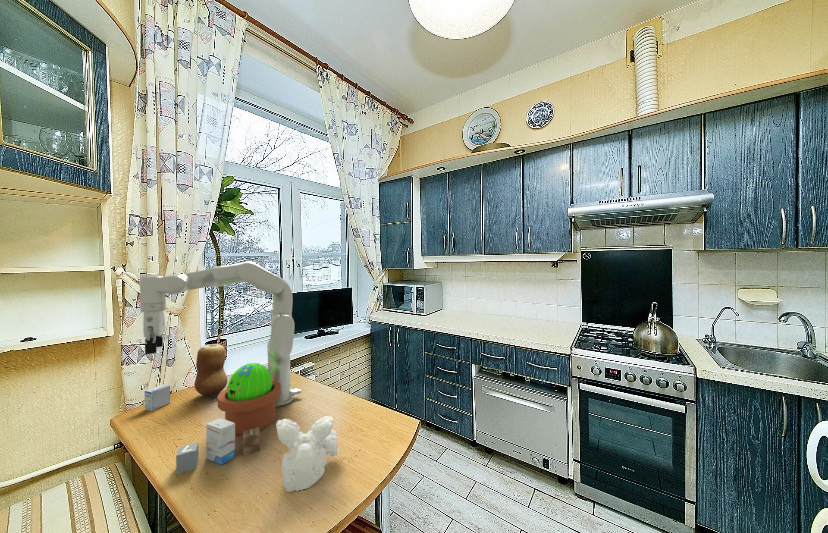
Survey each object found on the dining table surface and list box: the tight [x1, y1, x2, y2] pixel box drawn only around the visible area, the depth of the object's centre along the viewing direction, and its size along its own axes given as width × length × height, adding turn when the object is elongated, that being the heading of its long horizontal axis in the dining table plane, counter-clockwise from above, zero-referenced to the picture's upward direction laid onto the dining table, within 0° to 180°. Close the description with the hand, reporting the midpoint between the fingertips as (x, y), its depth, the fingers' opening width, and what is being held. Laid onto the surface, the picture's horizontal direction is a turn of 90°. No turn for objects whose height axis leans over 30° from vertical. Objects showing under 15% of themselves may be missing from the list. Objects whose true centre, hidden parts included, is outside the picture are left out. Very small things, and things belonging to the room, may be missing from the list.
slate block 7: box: [175, 441, 200, 475], centre depth 95 cm, size 5×5×6 cm
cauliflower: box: [275, 415, 338, 493], centre depth 93 cm, size 19×20×20 cm
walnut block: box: [242, 427, 261, 456], centre depth 104 cm, size 5×5×6 cm
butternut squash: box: [194, 343, 228, 399], centre depth 145 cm, size 14×13×25 cm
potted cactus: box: [217, 362, 281, 436], centre depth 120 cm, size 22×22×25 cm
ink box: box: [205, 417, 236, 466], centre depth 99 cm, size 9×5×12 cm, turn 65°
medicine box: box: [144, 383, 171, 412], centre depth 134 cm, size 8×4×9 cm, turn 164°
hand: (154, 350), depth 116 cm, fingers open, 9 cm apart
